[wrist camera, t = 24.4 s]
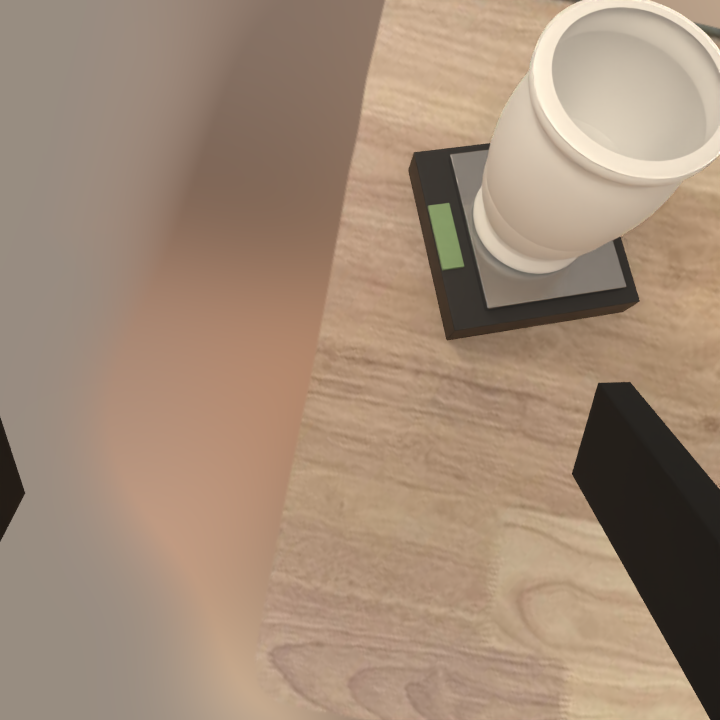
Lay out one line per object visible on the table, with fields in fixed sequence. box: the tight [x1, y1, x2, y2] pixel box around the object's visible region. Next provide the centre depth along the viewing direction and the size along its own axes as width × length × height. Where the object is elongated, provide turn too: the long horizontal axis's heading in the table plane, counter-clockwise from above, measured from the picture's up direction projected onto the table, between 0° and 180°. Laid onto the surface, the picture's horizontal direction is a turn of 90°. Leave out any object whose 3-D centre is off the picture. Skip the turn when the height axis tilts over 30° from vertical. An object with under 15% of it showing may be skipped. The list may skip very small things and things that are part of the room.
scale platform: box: [448, 150, 626, 311], centre depth 45 cm, size 12×10×1 cm
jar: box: [473, 0, 720, 274], centre depth 37 cm, size 11×10×15 cm
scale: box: [409, 143, 639, 340], centre depth 47 cm, size 14×14×3 cm
